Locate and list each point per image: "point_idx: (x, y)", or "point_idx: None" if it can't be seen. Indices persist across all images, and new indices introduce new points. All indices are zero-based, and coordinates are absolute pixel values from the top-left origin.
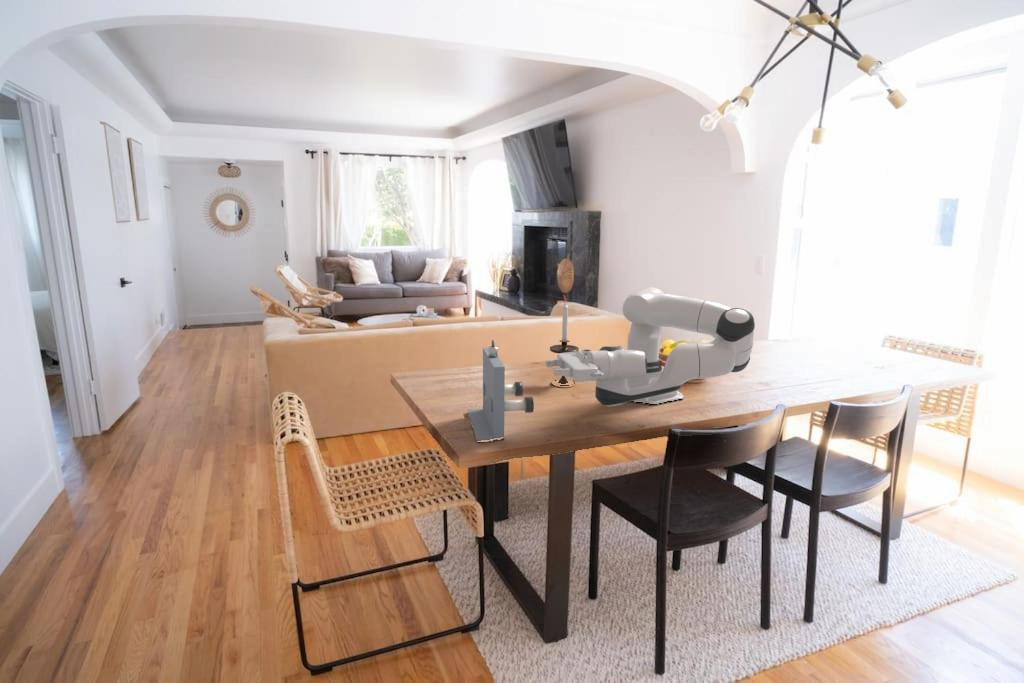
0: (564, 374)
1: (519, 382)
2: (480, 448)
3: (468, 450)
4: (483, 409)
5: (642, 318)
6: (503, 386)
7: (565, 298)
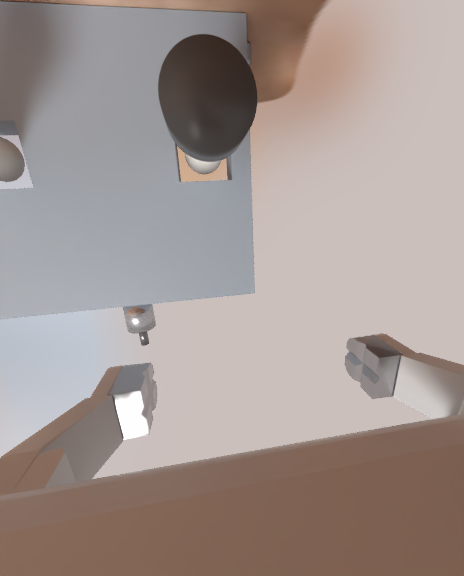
0: (459, 378)
1: None
2: (275, 74)
3: (273, 91)
4: None
5: None
6: (252, 235)
7: None
